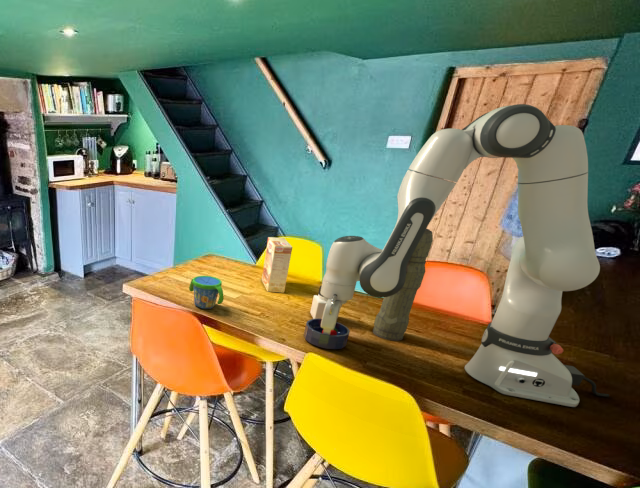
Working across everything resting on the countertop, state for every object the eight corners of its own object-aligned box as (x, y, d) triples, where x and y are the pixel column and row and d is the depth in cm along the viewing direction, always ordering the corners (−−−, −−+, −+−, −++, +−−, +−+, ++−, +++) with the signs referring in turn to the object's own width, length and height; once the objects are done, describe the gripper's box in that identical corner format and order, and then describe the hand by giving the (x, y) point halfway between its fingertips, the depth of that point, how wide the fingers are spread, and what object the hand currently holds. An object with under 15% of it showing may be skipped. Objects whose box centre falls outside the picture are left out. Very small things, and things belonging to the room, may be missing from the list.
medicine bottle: (335, 323, 139) (343, 290, 134) (314, 320, 140) (321, 289, 136) (330, 314, 146) (338, 283, 141) (309, 312, 147) (316, 281, 142)
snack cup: (229, 310, 147) (232, 284, 143) (206, 316, 142) (209, 289, 138) (202, 296, 159) (205, 272, 155) (180, 300, 155) (182, 275, 151)
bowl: (347, 338, 128) (351, 324, 126) (343, 354, 119) (347, 340, 117) (307, 329, 134) (310, 315, 132) (300, 343, 125) (303, 329, 123)
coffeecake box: (260, 279, 179) (267, 236, 172) (277, 280, 178) (284, 237, 171) (266, 291, 166) (274, 245, 158) (284, 293, 165) (293, 246, 157)
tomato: (329, 342, 128) (339, 332, 127) (331, 343, 124) (341, 333, 123) (318, 333, 129) (328, 323, 128) (319, 334, 125) (329, 324, 124)
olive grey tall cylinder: (366, 335, 131) (397, 229, 117) (377, 324, 139) (408, 223, 125) (397, 345, 125) (434, 234, 111) (407, 333, 133) (442, 228, 119)
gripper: (345, 303, 110) (334, 347, 115) (352, 282, 126) (342, 322, 131) (320, 298, 113) (311, 342, 118) (330, 278, 129) (321, 317, 134)
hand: (327, 331), depth 125 cm, fingers open, 8 cm apart
